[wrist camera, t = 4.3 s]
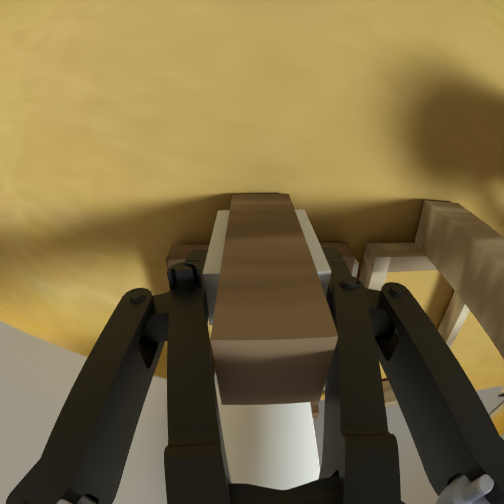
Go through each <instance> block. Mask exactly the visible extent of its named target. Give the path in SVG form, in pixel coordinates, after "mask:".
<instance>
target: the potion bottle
mask: <svg viewBox="0 0 504 504" xmlns="http://www.w3.org/2000/svg"><path fill="white" fill-rule="evenodd" d="M214 380H215V387H216V394H217V401H218V408H219V414H220V421H221V427H222V433H223V439H224V445H225V451H226V457H227V463H228V468H229V473H230V477H231V482H232V483H247V484H251V485H256V486H261V487H267V488H272V489H278V490H287V489H291V488H294V487H297V486H300V485H303V484H306V483H309V482H312V481H315V480H318V478H319V473H320V467H319V459H318V452H317V445H316V438H315V431H314V424H313V418H312V411H311V405H310V402H305V403H291V404H270V405H222V404H221V398H220V393H219V387H218V382H217V376H216V370H215V377H214Z"/></svg>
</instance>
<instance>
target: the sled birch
mask: <svg viewBox="0 0 504 504" xmlns="http://www.w3.org/2000/svg"><path fill="white" fill-rule="evenodd" d="M421 270H438V271H439V272H440V273H441V274H442V275H443V277H444V278H445V279H446V280H447V281H448V283H449V284H450V285H451V286H452V288H453V289H454V290H455V291H454V294H453V296H452V299H451V301H450V303H449V306H448V308H447V310H446V313H445V315H444V317H443V319H442V321H441V323H440V326H439V328H438V332H439V333H440V335H441V336H442V338H443V339H444V341H445V342H446V344H447V345H448V347H449V348H450V347H451V346H452V344H453V342H454V340H455V338H456V337H457V335H458V333H459V331H460V329H461V327H462V325H463V323H464V321H465V319H466V317H467V315H468V313H469V311H471V312H472V313H473V315H474V316H475V318H476V319H477V320H478V322H479V323H480V324H481V326H482V327H483V329H484V330H485V332H486V333H487V334H488V336H489V337H490V339H491V340H492V342H493V343H494V345H495V346H496V348H497V349H498V351H499V352H500V354H501V355H502V357H503V359H504V238H503V237H502V236H501V235H500V234H498V233H497V232H496V231H495V230H493V229H492V228H491V227H490V226H488V225H487V224H486V223H484V222H483V221H482V220H480V219H479V218H478V217H476V216H475V215H474V214H472V213H471V212H470V211H468V210H467V209H465V208H464V207H463V206H461V205H460V204H458V203H451V202H439V201H427V200H424V203H423V208H422V212H421V217H420V222H419V226H418V230H417V235H416V239H415V243H366V244H365V250H364V255H363V260H362V265H361V270H360V274H359V280H361V281H362V283H363V285H364V287H365V288H368V289H373V290H379V291H381V289H382V286H383V285H384V283H385V279H386V275H387V272H401V271H421ZM382 385H383V392H384V400H385V408H387V407H391V406H396V405H399V404H398V401H397V399H396V397H395V394H394V392H393V390H392V388H391V385H390V383H389V381H383V382H382Z"/></svg>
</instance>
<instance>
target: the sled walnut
mask: <svg viewBox="0 0 504 504" xmlns="http://www.w3.org/2000/svg"><path fill="white" fill-rule="evenodd" d="M319 243H320V246H321V247H335V248H336V249H337V250H338V251H340V253H341V255H342V257H343V259H344V261H345V263H346V264H347V266H348V268H349V270H350V272H351V274H352V270H353V265H354V260H355V256H354V254H353V252H352V251H351V249H350V247H349V246H348V244H347V242H319ZM209 245H210V244H177V245H172V247H171V249H170V252H169V254H168V256H167V258H166V263H167V269H169V268H170V267H171V266H172V265H174V264H176V263H180V262H185V260H186V257H187V255H188V254H189V253H190V252H191V251H192V250H193V249H209ZM337 339H338V334H337V331H336V327H335V324H334V321H333V318H332V315H331V312H330V309H329V306H328V303H327V300H326V297H325V293H324V290H323V288H322V285H321V282H320V279H319V276H318V273H317V270H316V267H315V264H314V261H313V259H312V256H311V253H310V250H309V247H308V244H307V242H306V239H305V236H304V233H303V231H302V228H301V225H300V223H299V220H298V217H297V215H296V212H295V209H294V207H293V204H292V202H291V199H290V196H289V194H232V199H231V205H230V211H229V217H228V224H227V230H226V236H225V243H224V249H223V256H222V262H221V269H220V276H219V283H218V290H217V297H216V304H215V311H214V319H213V326H212V334H211V346H212V352H213V358H214V364H215V370H216V376H217V382H218V387H219V393H220V398H221V404H222V405H270V404H291V403H305V402H310V405H311V411H312V418H317V417H318V414H319V409H318V402H319V401H320V398H321V395H322V391H323V388H324V385H325V382H326V378H327V375H328V372H329V368H330V365H331V361H332V358H333V354H334V350H335V347H336V343H337Z"/></svg>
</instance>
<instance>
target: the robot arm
mask: <svg viewBox="0 0 504 504" xmlns="http://www.w3.org/2000/svg"><path fill="white" fill-rule="evenodd" d="M229 211H230V210H218V213H217V217H216V221H215V225H214V229H213V233H212V237H211V241H210V245H209V249H193V250H192V251H191V252H190V253H189V254H188V255H187V257H186V260H185V262H180V263H176V264H174V265H172V266H171V267H170V268H169V269H168V271H167V275H168V280H169V285H170V291H169V292H167V293H164V294H160V295H155V296H152V293H151V291H149V290H148V289H145V288H136V289H133V290H130V291H128V292H127V293H126V294H125V295H124V296H123V297H122V299H121V300H120V302H119V304H118V305H117V307H116V309H115V310H114V312H113V314H112V315H111V317H110V319H109V321H108V322H107V324H106V326H105V327H104V329H103V331H102V333H101V334H100V336H99V338H98V340H97V342H96V343H95V345H94V347H93V349H92V351H91V353H90V354H89V356H88V358H87V360H86V362H85V364H84V366H83V368H82V370H81V372H80V373H79V375H78V377H77V379H76V381H75V383H74V385H73V387H72V389H71V391H70V393H69V395H68V398H67V400H66V402H65V404H64V406H63V408H62V410H61V412H60V414H59V417H58V419H57V421H56V423H55V425H54V428H53V430H52V432H51V435H50V437H49V439H48V442H47V444H46V446H45V449H44V451H43V454H42V456H41V458H40V460H39V461H38V462H37V463H36V464H35V465H34V467H33V468H32V469H31V470H30V471H29V472H28V473H27V474H26V476H25V477H24V478H23V479H22V480H21V481H20V483H19V484H18V485H17V486H16V487H15V488H14V489H13V491H12V492H11V493H10V494H9V496H8V498H7V500H6V504H112V503H113V501H114V499H115V497H116V493H117V490H118V488H119V484H120V481H121V477H122V474H123V470H124V466H125V463H126V460H127V456H128V453H129V449H130V446H131V443H132V439H133V436H134V433H135V430H136V426H137V423H138V420H139V417H140V414H141V411H142V407H143V404H144V401H145V398H146V395H147V392H148V389H149V386H150V383H151V380H152V377H153V374H154V372H155V369H156V366H157V363H158V360H159V357H160V354H161V352H162V349H163V346H164V341H168V351H167V411H168V412H167V413H168V446H167V447H166V448H165V451H164V466H165V481H166V493H167V504H405V503H404V502H402V501H401V494H400V470H399V455H398V444H397V440H396V437H395V436H394V435H393V434H390V433H389V431H388V427H387V417H386V408H385V400H384V392H383V385H382V378H381V371H380V365H379V361H380V363H381V365H382V368H383V370H384V372H385V374H386V376H387V379H388V381H389V383H390V385H391V388H392V390H393V392H394V394H395V397H396V399H397V401H398V404H399V406H400V408H401V411H402V413H403V416H404V418H405V420H406V423H407V425H408V427H409V430H410V433H411V435H412V438H413V440H414V443H415V445H416V448H417V451H418V453H419V456H420V458H421V461H422V464H423V467H424V470H425V472H426V474H427V476H428V479H429V482H430V483H431V485H432V487H433V488H434V490H435V492H436V493H437V494H438V496H439V497H438V500H437V503H436V504H504V440H503V439H502V438H501V437H500V436H499V434H498V432H497V430H496V428H495V426H494V424H493V422H492V420H491V418H490V416H489V414H488V412H487V411H486V409H485V407H484V405H483V403H482V401H481V400H480V398H479V396H478V394H477V392H476V391H475V389H474V387H473V386H472V384H471V382H470V380H469V379H468V377H467V375H466V374H465V372H464V370H463V369H462V367H461V366H460V364H459V362H458V361H457V359H456V358H455V356H454V354H453V353H452V351H451V350H450V348H449V347H448V345H447V344H446V342H445V341H444V339H443V338H442V336H441V335H440V333H439V332H438V330H437V329H436V327H435V326H434V324H433V323H432V322H431V320H430V319H429V317H428V316H427V315H426V313H425V312H424V310H423V309H422V308H421V306H420V305H419V303H418V302H417V301H416V299H415V298H414V297H413V295H412V294H411V293H410V291H409V290H408V289H407V288H406V287H405V286H403V285H401V284H399V283H394V282H389V283H385V284H384V285H383V286H382V289H381V291H379V290H373V289H368V288H365V287H364V285H363V283H362V281H361V280H359V279H358V278H356V277H354V276H352V274H351V272H350V270H349V268H348V266H347V264H346V263H345V261H344V259H343V257H342V255H341V253H340V251H338V250H337V249H336V248H335V247H321V246H320V243H319V241H318V239H317V236H316V234H315V232H314V230H313V227H312V225H311V223H310V221H309V218H308V216H307V214H306V212H305V210H304V209H295V212H296V215H297V217H298V220H299V223H300V225H301V228H302V231H303V233H304V236H305V239H306V242H307V244H308V247H309V250H310V253H311V256H312V259H313V261H314V264H315V267H316V270H317V273H318V276H319V279H320V282H321V285H322V288H323V290H324V293H325V297H326V300H327V303H328V306H329V309H330V312H331V315H332V318H333V321H334V324H335V327H336V331H337V334H338V339H337V343H336V347H335V350H334V354H333V358H332V361H331V365H330V368H329V372H328V375H327V378H326V382H325V412H324V413H325V414H324V438H323V455H322V465H321V470H320V473H319V478H318V480H315V481H312V482H309V483H306V484H303V485H300V486H297V487H294V488H291V489H287V490H278V489H272V488H267V487H261V486H256V485H251V484H247V483H232V482H231V477H230V473H229V468H228V463H227V457H226V451H225V445H224V439H223V433H222V427H221V421H220V414H219V408H218V401H217V394H216V387H215V380H214V372H213V364H212V356H211V348H210V340H209V331H208V325H207V323H208V318H209V325H213V319H214V311H215V304H216V297H217V290H218V283H219V276H220V269H221V262H222V256H223V249H224V243H225V236H226V230H227V224H228V217H229Z"/></svg>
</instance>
